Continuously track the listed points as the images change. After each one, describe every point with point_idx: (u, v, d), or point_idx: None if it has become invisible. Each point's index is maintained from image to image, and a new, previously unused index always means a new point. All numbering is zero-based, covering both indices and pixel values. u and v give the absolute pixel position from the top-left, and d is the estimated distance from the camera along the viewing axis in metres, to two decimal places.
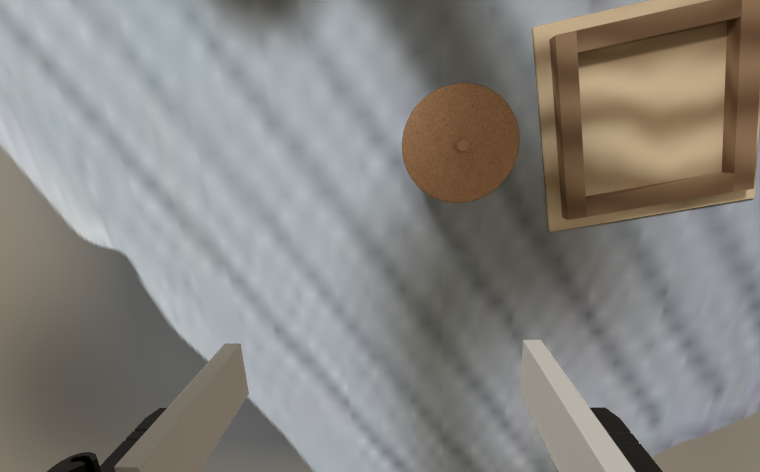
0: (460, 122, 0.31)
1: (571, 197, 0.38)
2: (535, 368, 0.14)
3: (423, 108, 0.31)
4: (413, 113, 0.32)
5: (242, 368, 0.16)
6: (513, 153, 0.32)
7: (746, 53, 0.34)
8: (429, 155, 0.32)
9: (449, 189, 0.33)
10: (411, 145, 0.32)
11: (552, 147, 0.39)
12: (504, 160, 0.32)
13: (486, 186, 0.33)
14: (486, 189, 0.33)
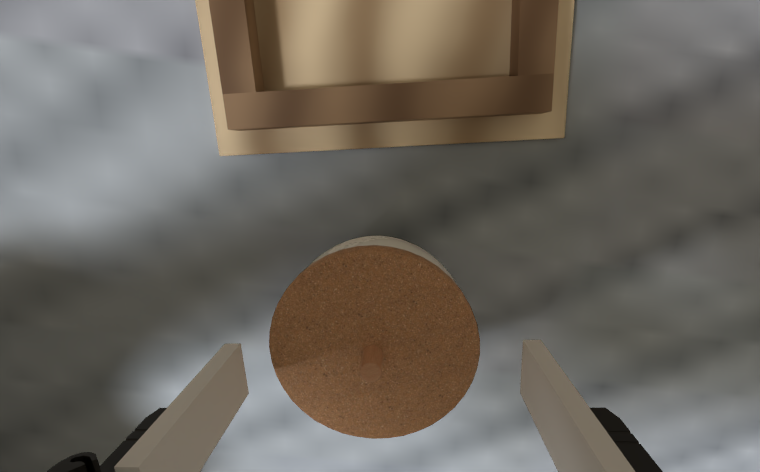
0: (333, 350, 0.17)
1: (507, 104, 0.20)
2: (534, 368, 0.14)
3: (303, 401, 0.18)
4: (310, 415, 0.19)
5: (242, 368, 0.16)
6: (402, 264, 0.16)
7: None
8: (383, 404, 0.18)
9: (450, 379, 0.18)
10: (361, 427, 0.19)
11: (408, 129, 0.22)
12: (413, 282, 0.16)
13: (457, 317, 0.17)
14: (463, 317, 0.17)
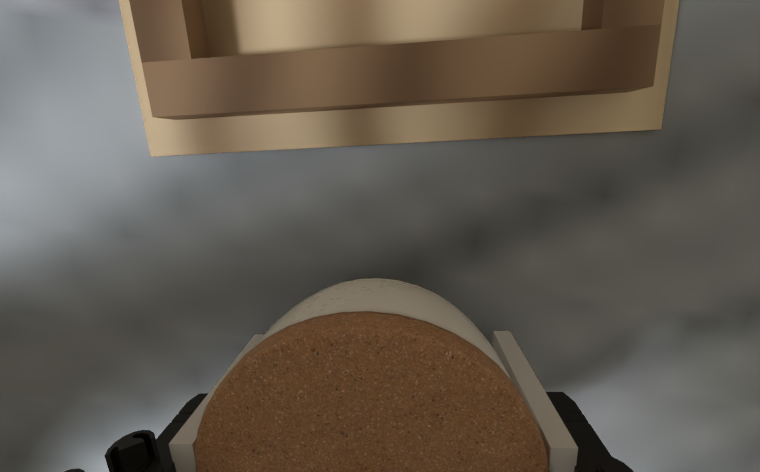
0: None
1: (582, 76, 0.13)
2: (501, 356, 0.15)
3: None
4: None
5: None
6: (418, 353, 0.09)
7: None
8: None
9: None
10: None
11: (424, 117, 0.15)
12: (437, 383, 0.09)
13: (513, 441, 0.10)
14: (523, 442, 0.10)
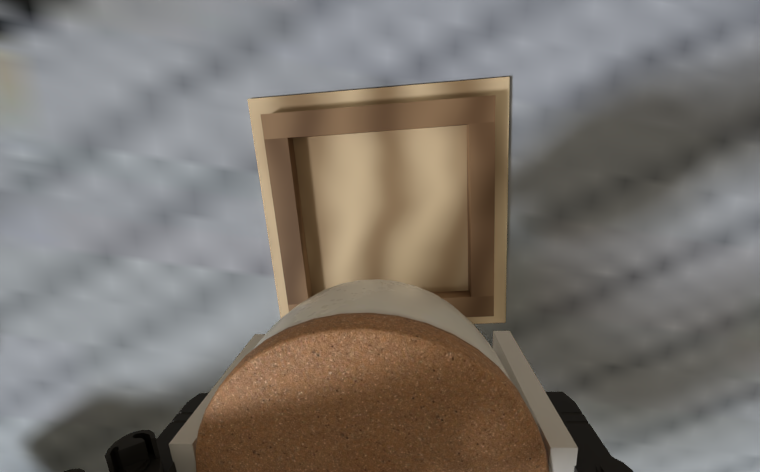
0: None
1: (466, 312, 0.32)
2: (501, 356, 0.15)
3: None
4: None
5: None
6: (418, 355, 0.09)
7: (326, 127, 0.29)
8: None
9: None
10: None
11: None
12: (437, 385, 0.09)
13: (513, 443, 0.10)
14: (523, 443, 0.10)
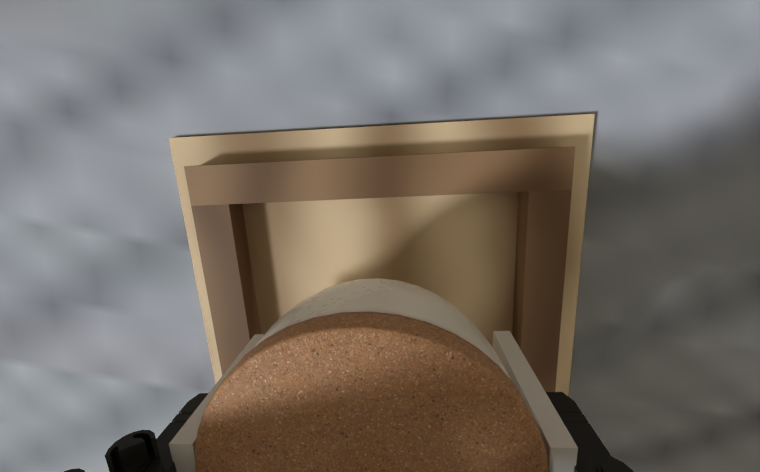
0: None
1: None
2: (501, 356, 0.15)
3: None
4: None
5: None
6: (418, 354, 0.09)
7: (292, 189, 0.17)
8: None
9: None
10: None
11: None
12: (438, 384, 0.09)
13: (513, 442, 0.10)
14: (524, 442, 0.10)
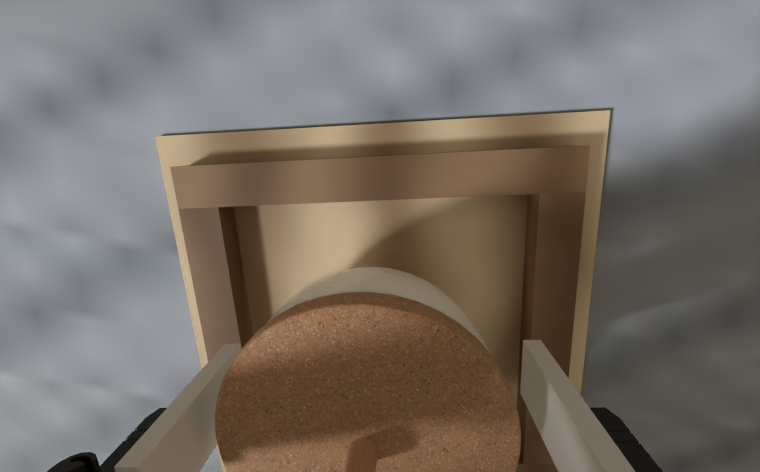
0: (305, 443, 0.12)
1: None
2: (535, 368, 0.14)
3: None
4: None
5: None
6: (408, 327, 0.11)
7: (285, 191, 0.16)
8: None
9: None
10: None
11: None
12: (425, 353, 0.11)
13: (489, 404, 0.11)
14: (498, 404, 0.11)
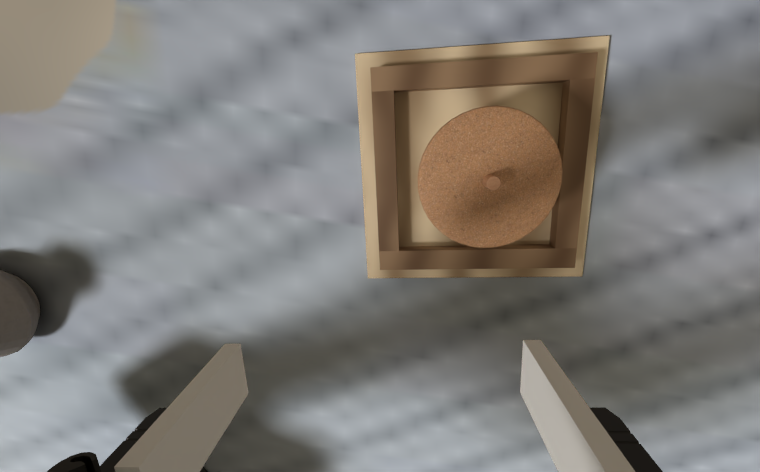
0: (462, 178, 0.26)
1: (548, 263, 0.34)
2: (535, 368, 0.14)
3: (437, 217, 0.27)
4: (440, 229, 0.28)
5: (242, 368, 0.16)
6: (516, 115, 0.25)
7: (432, 80, 0.31)
8: (492, 219, 0.27)
9: (540, 200, 0.26)
10: (475, 237, 0.27)
11: None
12: (522, 128, 0.25)
13: (549, 153, 0.25)
14: (553, 154, 0.25)
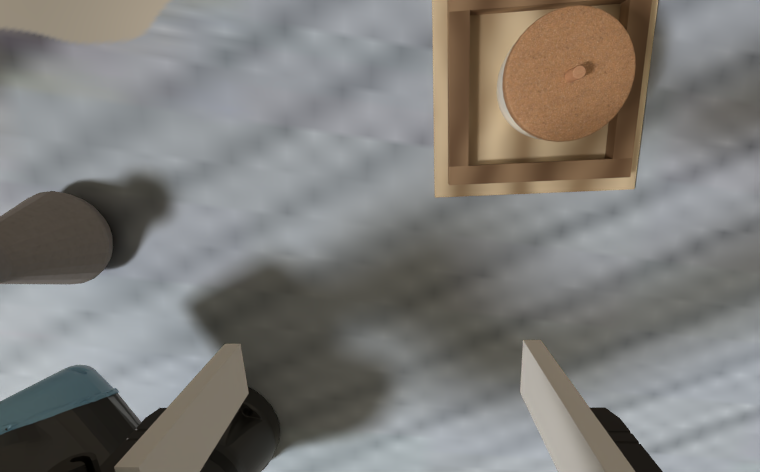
0: (547, 73, 0.29)
1: (606, 173, 0.37)
2: (535, 368, 0.14)
3: (522, 112, 0.30)
4: (523, 124, 0.31)
5: (242, 368, 0.16)
6: (597, 13, 0.28)
7: (505, 0, 0.34)
8: (572, 112, 0.30)
9: (615, 93, 0.29)
10: (555, 130, 0.30)
11: (545, 183, 0.39)
12: (602, 24, 0.28)
13: (625, 48, 0.29)
14: (628, 49, 0.29)
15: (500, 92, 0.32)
